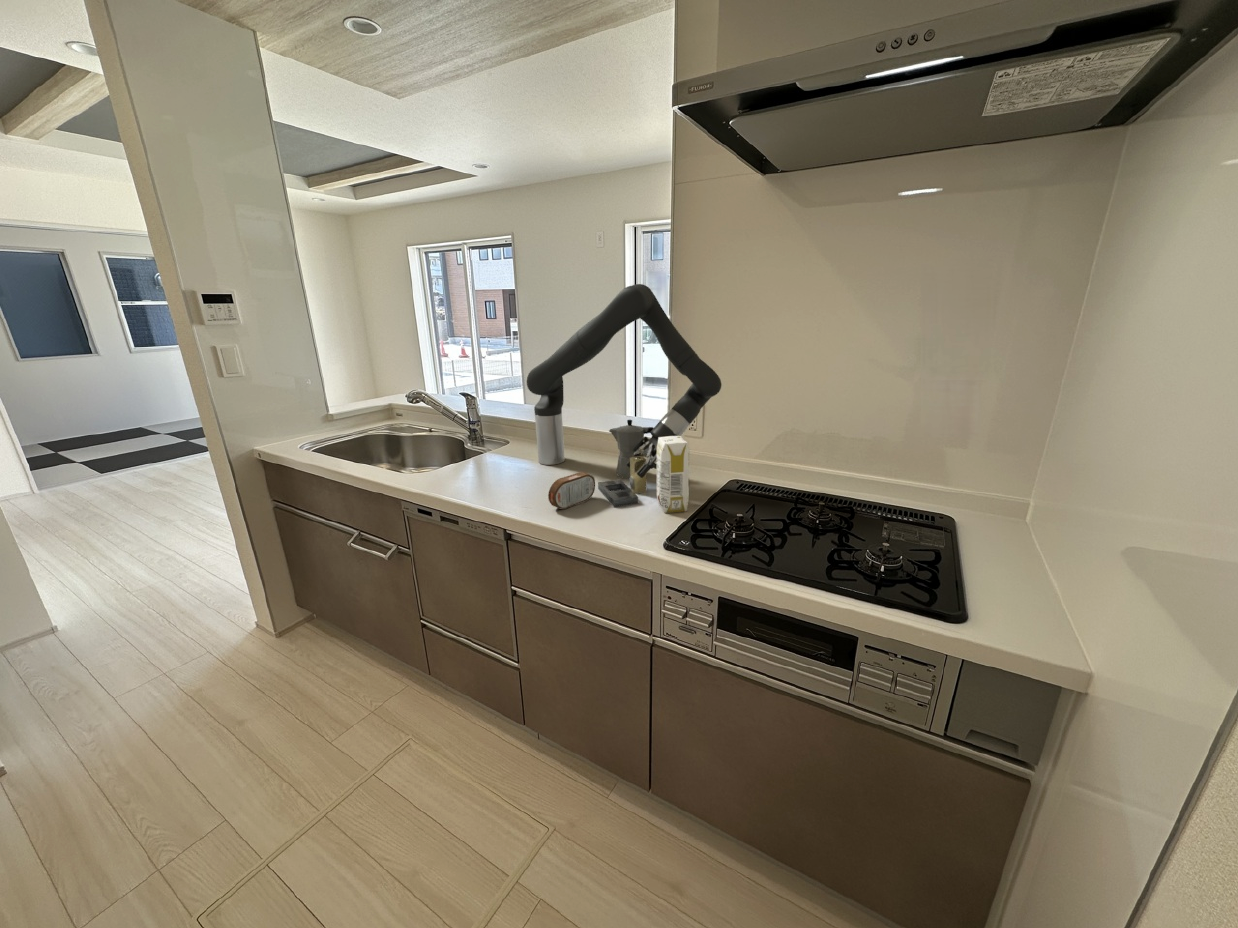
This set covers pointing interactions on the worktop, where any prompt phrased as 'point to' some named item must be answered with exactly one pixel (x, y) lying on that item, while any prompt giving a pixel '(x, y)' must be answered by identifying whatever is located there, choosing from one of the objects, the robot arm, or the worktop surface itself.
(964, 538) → the worktop surface
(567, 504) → the tin
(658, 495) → the juice carton
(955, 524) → the worktop surface
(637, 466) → the wooden post with button
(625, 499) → the grey base with slots
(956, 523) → the worktop surface
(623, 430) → the coffeepot
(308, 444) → the worktop surface
